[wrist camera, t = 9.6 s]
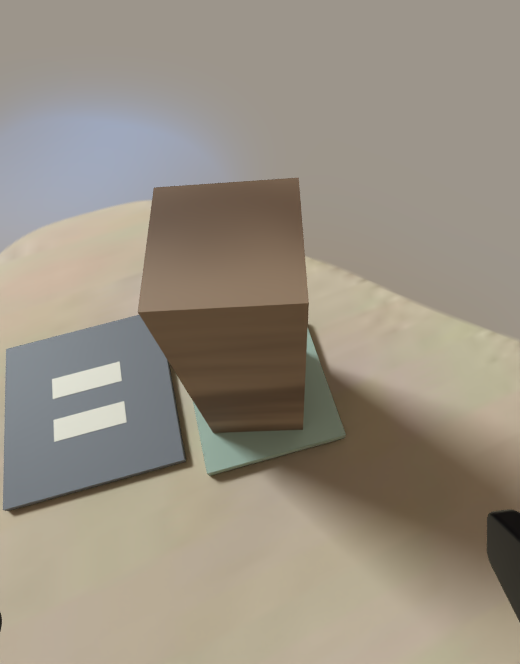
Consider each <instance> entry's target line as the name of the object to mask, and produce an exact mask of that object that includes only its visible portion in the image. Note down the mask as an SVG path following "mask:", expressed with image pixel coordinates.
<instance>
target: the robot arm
mask: <svg viewBox="0 0 520 664" xmlns="http://www.w3.org/2000/svg"><path fill="white" fill-rule="evenodd" d="M487 554H488V558H489V561H490V564H491V566H492V568H493V570H494V572H495V574H496V576H497V578H498V580H499V582H500V584H501V586H502V588H503V590H504V592H505V594H506V596H507V598H508V600H509V602H510V604H511V606H512V608H513V610H514V612H515V614H516V616H517V618H518V620H519V622H520V513H519V512H517V511H515V510H510V509H509V510H501V511H493V512H491V513H489V514H488V517H487ZM1 626H2V617H1V613H0V631H1Z"/></svg>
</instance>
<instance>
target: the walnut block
mask: <svg viewBox="0 0 520 664" xmlns="http://www.w3.org/2000/svg"><path fill="white" fill-rule="evenodd" d="M308 305H309V302H308V289H307V277H306V265H305V253H304V240H303V227H302V216H301V202H300V191H299V178H288V179H275V180H259V181H244V182H229V183H215V184H200V185H186V186H171V187H157V188H154V191H153V199H152V206H151V214H150V222H149V229H148V237H147V245H146V252H145V260H144V268H143V276H142V283H141V291H140V299H139V306H138V313H139V315H140V317H141V318H142V320H143V321H144V323H145V325H146V326H147V328H148V329H149V331H150V333H151V334H152V336H153V337H154V339H155V341H156V342H157V344H158V345H159V347H160V349H161V350H162V352H163V353H164V355H165V357H166V358H167V360H168V361H169V363H170V365H171V366H172V368H173V369H174V371H175V373H176V374H177V376H178V377H179V379H180V381H181V382H182V384H183V385H184V387H185V389H186V390H187V392H188V394H189V395H190V397H191V398H192V400H193V402H194V403H195V405H196V406H197V408H198V410H199V411H200V413H201V414H202V416H203V418H204V419H205V421H206V422H207V424H208V426H209V427H210V429H211V430H212V432H213V433H226V432H253V431H280V430H303V418H304V395H305V373H306V350H307V328H308Z"/></svg>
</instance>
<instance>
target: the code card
mask: <svg viewBox="0 0 520 664" xmlns="http://www.w3.org/2000/svg"><path fill="white" fill-rule="evenodd" d="M182 462H186V458H185V453H184V447H183V441H182V435H181V430H180V424H179V418H178V413H177V407H176V401H175V395H174V390H173V384H172V378H171V373H170V367H169V361H168V360H167V358H166V357H165V355H164V353H163V352H162V350H161V349H160V347H159V345H158V344H157V342H156V341H155V339H154V337H153V336H152V334H151V333H150V331H149V329H148V328H147V326H146V325H145V323H144V321H143V320H142V318H141V317H140V315H137V316H133V317H129V318H125V319H121V320H117V321H114V322H110V323H106V324H102V325H98V326H94V327H90V328H86V329H83V330H79V331H75V332H71V333H67V334H63V335H59V336H55V337H52V338H48V339H44V340H40V341H36V342H32V343H28V344H24V345H20V346H17V347H13V348H9V349H6V385H5V435H4V485H3V510H5V511H10V510H13V509H17V508H20V507H24V506H28V505H31V504H35V503H38V502H42V501H46V500H49V499H53V498H56V497H60V496H64V495H67V494H71V493H74V492H78V491H82V490H85V489H89V488H92V487H96V486H100V485H103V484H107V483H110V482H114V481H118V480H121V479H125V478H128V477H132V476H136V475H139V474H143V473H146V472H150V471H154V470H157V469H161V468H164V467H168V466H172V465H175V464H179V463H182Z"/></svg>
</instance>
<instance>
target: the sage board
mask: <svg viewBox="0 0 520 664" xmlns="http://www.w3.org/2000/svg"><path fill="white" fill-rule="evenodd" d="M193 404H194V409H195V414H196V419H197V424H198V429H199V435H200V440H201V445H202V450H203V455H204V460H205V465H206V470H207V474H208V475H209V476H211V475H214V474H218V473H221V472H225V471H229V470H232V469H236V468H239V467H243V466H246V465H250V464H253V463H257V462H261V461H264V460H268V459H271V458H275V457H278V456H282V455H286V454H289V453H293V452H296V451H300V450H303V449H307V448H311V447H314V446H318V445H321V444H325V443H328V442H332V441H335V440H339V439H343V438H345V436H346V434H345V431H344V428H343V425H342V422H341V420H340V417H339V414H338V411H337V408H336V406H335V403H334V400H333V397H332V394H331V392H330V389H329V386H328V383H327V380H326V378H325V375H324V372H323V369H322V366H321V364H320V361H319V358H318V355H317V352H316V350H315V347H314V344H313V341H312V338H311V336H310V333H309V330H308V328H307V350H306V373H305V395H304V418H303V430H280V431H253V432H226V433H213V432H212V430H211V429H210V427H209V426H208V424H207V422H206V421H205V419H204V418H203V416H202V414H201V413H200V411H199V410H198V408H197V406H196V405H195V403H194V402H193Z"/></svg>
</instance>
